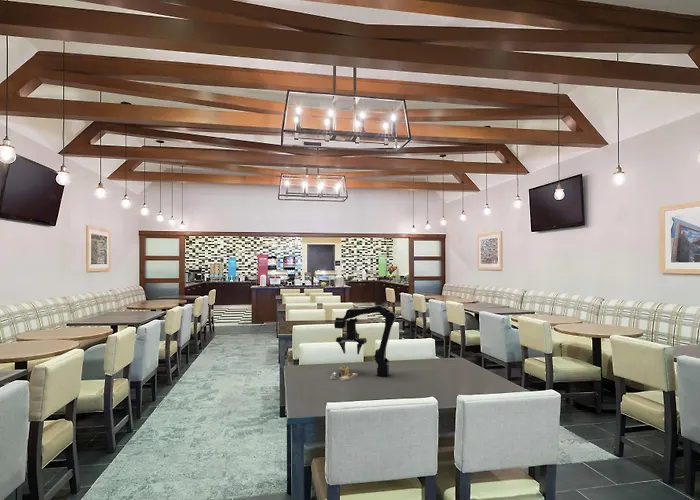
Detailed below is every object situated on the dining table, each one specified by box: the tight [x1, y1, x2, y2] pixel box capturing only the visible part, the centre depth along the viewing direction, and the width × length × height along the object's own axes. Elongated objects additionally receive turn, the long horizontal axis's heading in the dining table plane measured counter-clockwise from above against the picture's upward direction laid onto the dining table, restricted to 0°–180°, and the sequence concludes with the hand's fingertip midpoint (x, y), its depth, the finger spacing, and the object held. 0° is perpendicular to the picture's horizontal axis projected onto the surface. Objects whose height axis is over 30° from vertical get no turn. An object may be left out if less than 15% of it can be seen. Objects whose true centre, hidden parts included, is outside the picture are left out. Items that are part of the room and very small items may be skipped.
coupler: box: [338, 364, 350, 376], centre depth 259 cm, size 4×4×6 cm
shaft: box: [330, 369, 342, 378], centre depth 255 cm, size 6×5×3 cm
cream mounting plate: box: [329, 366, 358, 381], centre depth 260 cm, size 12×16×4 cm
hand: (351, 354), depth 267 cm, fingers open, 9 cm apart
